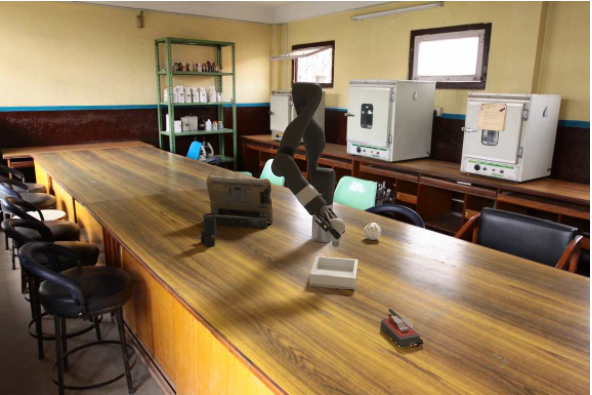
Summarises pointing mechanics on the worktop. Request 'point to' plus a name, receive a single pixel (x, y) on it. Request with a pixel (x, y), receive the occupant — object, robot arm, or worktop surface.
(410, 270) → the worktop surface
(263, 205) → the tablet
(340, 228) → the lightbulb
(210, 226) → the scope
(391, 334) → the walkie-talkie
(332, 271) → the tray
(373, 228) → the white textured ball
